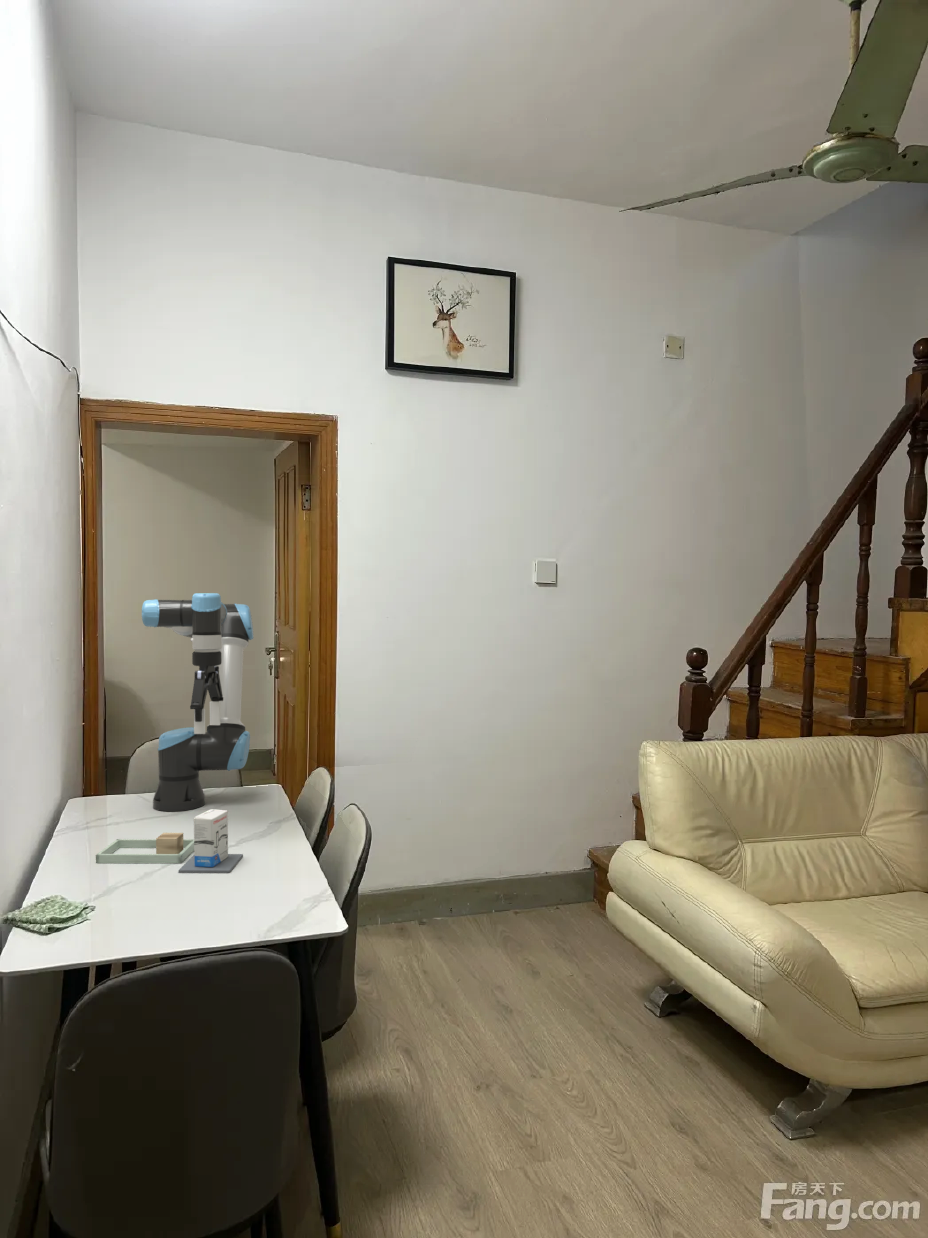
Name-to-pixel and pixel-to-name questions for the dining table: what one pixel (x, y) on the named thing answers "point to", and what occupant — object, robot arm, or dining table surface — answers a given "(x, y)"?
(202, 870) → the rubber mat
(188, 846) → the parts tray
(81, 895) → the dining table surface
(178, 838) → the kraft cube
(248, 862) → the dining table surface
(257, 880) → the dining table surface
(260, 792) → the dining table surface
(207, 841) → the ink box
